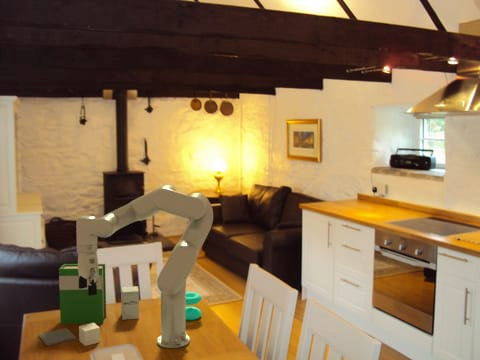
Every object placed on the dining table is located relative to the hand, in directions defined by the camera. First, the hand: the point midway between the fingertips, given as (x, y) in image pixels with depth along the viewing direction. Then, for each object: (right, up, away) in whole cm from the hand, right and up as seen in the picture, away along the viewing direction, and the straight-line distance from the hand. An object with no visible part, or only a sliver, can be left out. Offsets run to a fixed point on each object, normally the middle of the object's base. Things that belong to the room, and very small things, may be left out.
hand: (87, 291), depth 194 cm
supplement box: (+10, -18, +28) cm, 35 cm away
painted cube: (0, -20, +2) cm, 20 cm away
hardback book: (-9, -18, +23) cm, 31 cm away
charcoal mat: (-14, -20, +5) cm, 25 cm away
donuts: (+37, -18, +28) cm, 50 cm away
